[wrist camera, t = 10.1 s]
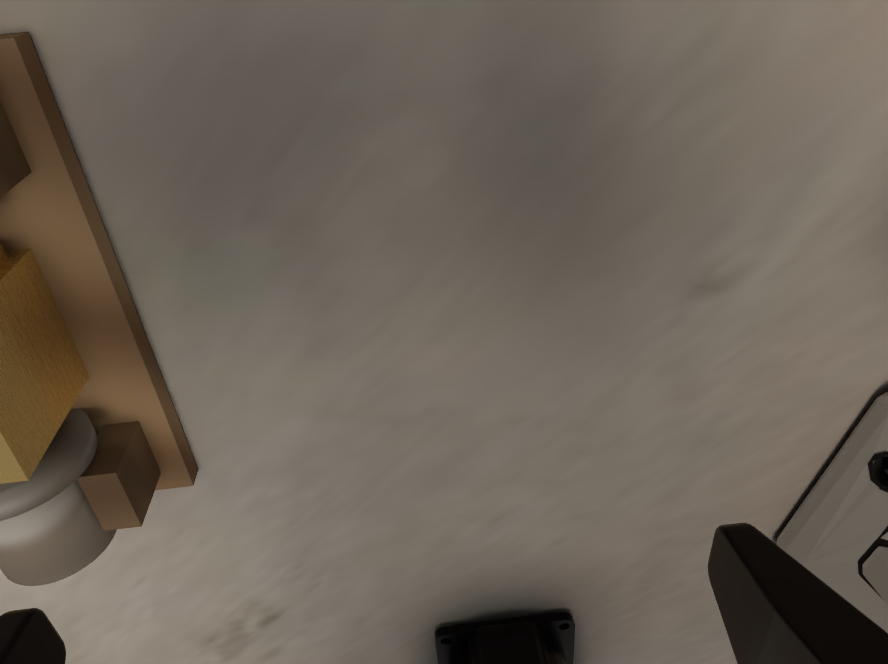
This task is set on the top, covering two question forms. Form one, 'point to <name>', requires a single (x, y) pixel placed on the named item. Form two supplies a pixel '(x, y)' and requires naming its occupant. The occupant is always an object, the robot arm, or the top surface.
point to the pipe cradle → (97, 340)
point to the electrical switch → (849, 519)
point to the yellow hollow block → (32, 366)
